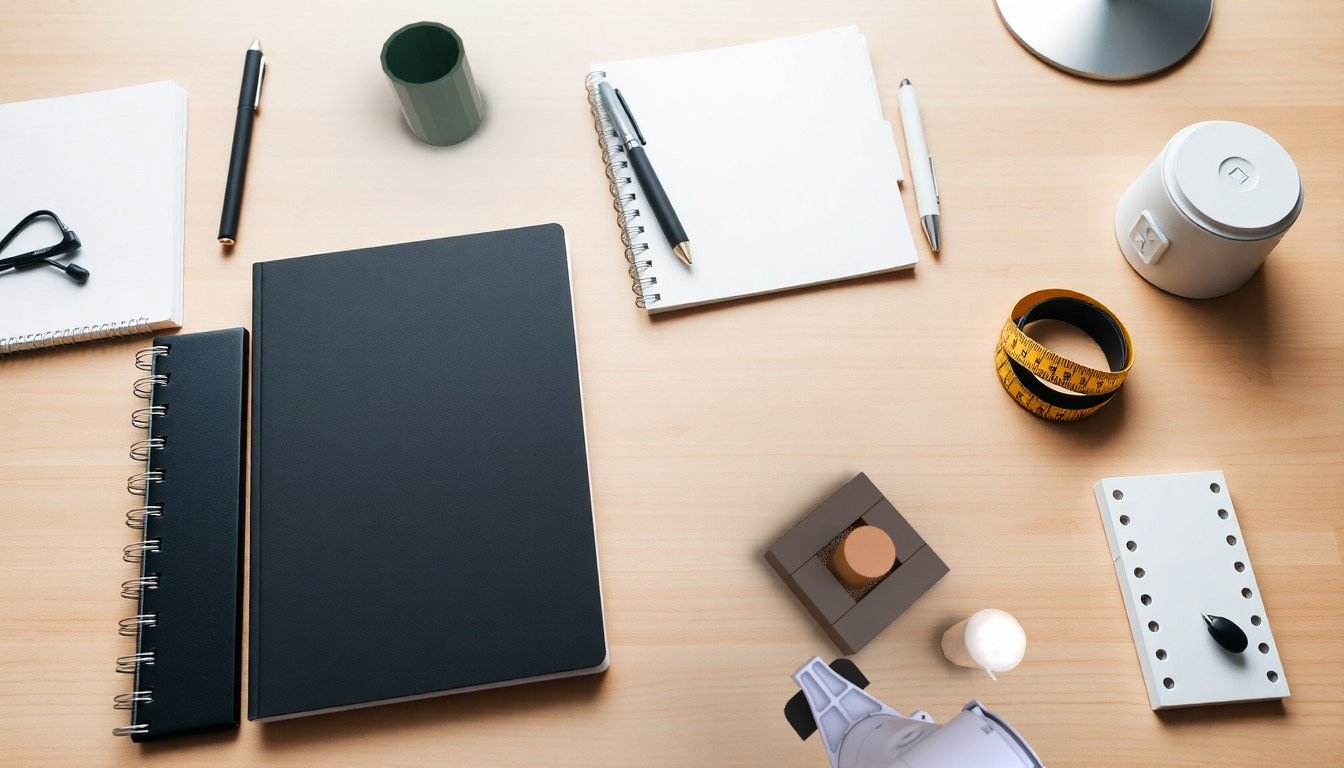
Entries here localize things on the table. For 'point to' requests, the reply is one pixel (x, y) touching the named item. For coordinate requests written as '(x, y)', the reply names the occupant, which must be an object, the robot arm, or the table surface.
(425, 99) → the coffee cup
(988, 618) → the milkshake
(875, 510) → the pod dock
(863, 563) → the orange cylinder
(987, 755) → the robot arm
